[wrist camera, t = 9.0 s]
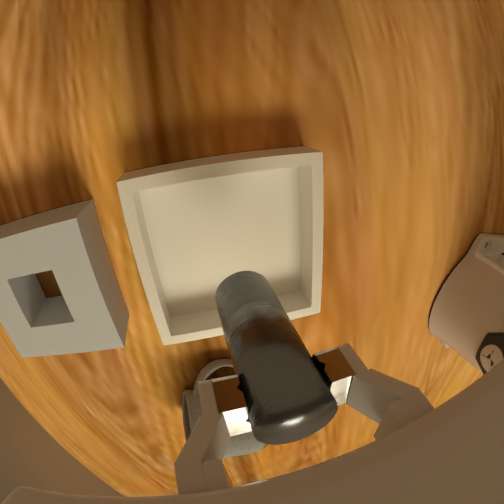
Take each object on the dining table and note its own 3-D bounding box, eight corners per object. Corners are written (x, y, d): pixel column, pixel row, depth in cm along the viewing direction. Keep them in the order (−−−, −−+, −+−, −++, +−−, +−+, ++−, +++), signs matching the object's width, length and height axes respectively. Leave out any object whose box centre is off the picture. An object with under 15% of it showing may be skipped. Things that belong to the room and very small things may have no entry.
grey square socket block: (93, 198, 19) (76, 217, 15) (129, 314, 23) (124, 347, 20) (-8, 228, 17) (-33, 249, 13) (35, 327, 21) (22, 357, 18)
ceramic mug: (249, 412, 33) (266, 464, 26) (182, 416, 31) (189, 472, 24) (265, 351, 29) (290, 411, 22) (181, 354, 26) (188, 420, 20)
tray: (304, 146, 20) (322, 151, 18) (306, 292, 26) (320, 312, 24) (124, 172, 18) (116, 182, 16) (163, 321, 24) (163, 345, 22)
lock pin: (269, 265, 15) (343, 384, 8) (272, 311, 17) (332, 428, 10) (210, 277, 15) (249, 412, 8) (219, 323, 16) (256, 451, 9)
